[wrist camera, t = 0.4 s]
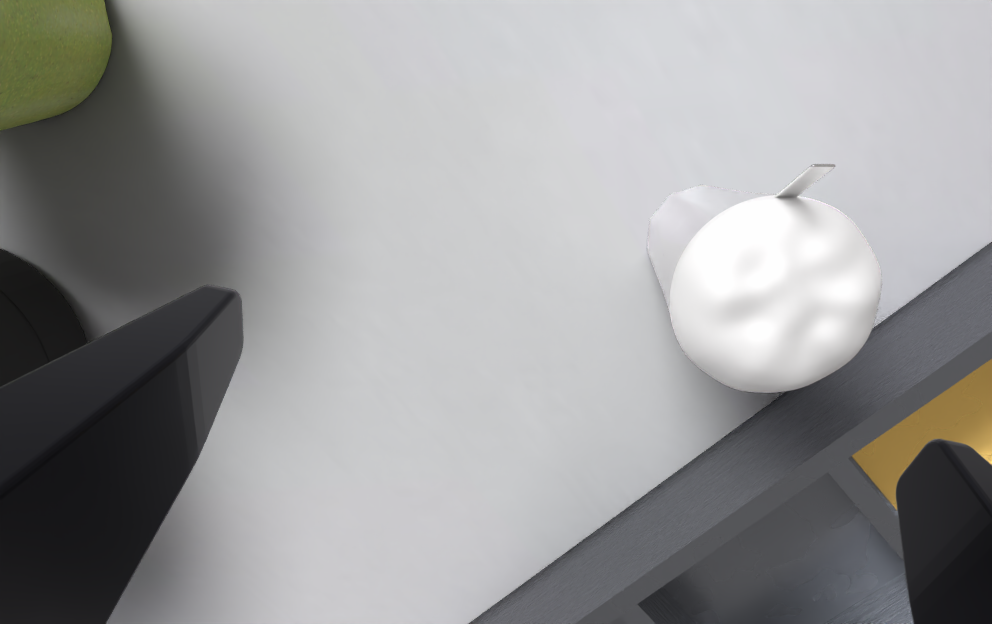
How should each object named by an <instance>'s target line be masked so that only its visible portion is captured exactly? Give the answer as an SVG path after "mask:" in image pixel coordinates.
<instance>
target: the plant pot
mask: <svg viewBox="0 0 992 624" xmlns="http://www.w3.org/2000/svg"><path fill="white" fill-rule="evenodd" d="M111 45H112V33H111V29H110V25H109V21H108V17H107V12H106V7H105V2H104V0H0V131H1V130H5V129H9V128H13V127H17V126H21V125H24V124H28V123H32V122H36V121H40V120H43V119H47V118H50V117H53V116H56V115H59V114H62V113H64V112H67V111H69V110H71V109H73V108H74V107H76V106H77V105H78V104H80V103H81V102H82V101H84V100H85V99H86V98H87V97H88V96H89V95H90V94H91V93H92V91H93V90H94V89H95V87H96V86H97V84H98V83H99V81H100V79H101V77H102V75H103V73H104V71H105V69H106V66H107V63H108V60H109V57H110V52H111Z"/></svg>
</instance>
